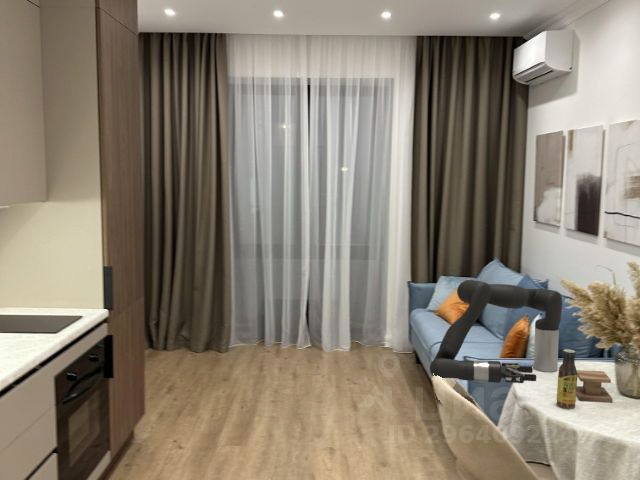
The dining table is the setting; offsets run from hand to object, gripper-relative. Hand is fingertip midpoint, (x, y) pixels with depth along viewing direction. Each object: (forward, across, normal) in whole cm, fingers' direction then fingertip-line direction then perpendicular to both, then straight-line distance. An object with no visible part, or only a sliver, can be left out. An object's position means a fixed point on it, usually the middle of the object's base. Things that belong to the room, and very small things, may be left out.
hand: (534, 373), depth 211 cm
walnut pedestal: (+22, +11, +11) cm, 27 cm away
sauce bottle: (+11, 0, +11) cm, 16 cm away
